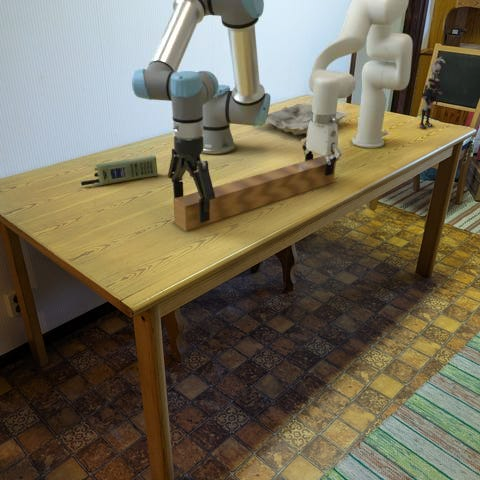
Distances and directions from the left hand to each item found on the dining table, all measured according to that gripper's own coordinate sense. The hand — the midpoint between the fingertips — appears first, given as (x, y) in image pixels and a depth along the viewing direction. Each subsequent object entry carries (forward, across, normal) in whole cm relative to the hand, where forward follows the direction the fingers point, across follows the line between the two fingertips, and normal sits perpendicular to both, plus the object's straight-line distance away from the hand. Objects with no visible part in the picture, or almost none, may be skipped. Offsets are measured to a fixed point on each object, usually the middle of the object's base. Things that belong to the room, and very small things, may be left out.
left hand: (191, 212), depth 139 cm
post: (+4, 0, +25) cm, 25 cm away
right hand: (-1, 0, +49) cm, 49 cm away
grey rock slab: (+4, -49, +87) cm, 100 cm away
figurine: (+4, -17, +133) cm, 134 cm away
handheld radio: (+4, -39, -2) cm, 39 cm away
